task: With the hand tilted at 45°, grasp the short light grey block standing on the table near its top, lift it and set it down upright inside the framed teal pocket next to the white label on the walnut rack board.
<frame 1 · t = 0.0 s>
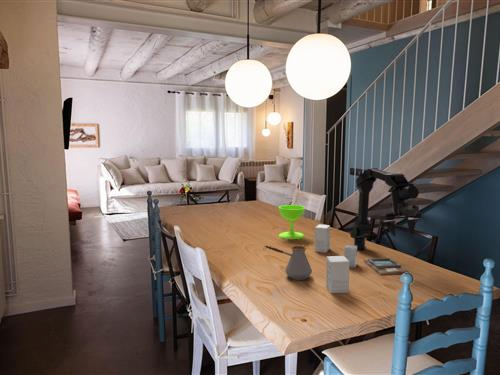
hand: (403, 235, 174), 15 cm above the table, tool pointing down, fingers open, 9 cm apart
wineglass: (291, 236, 236), on the table
small box: (322, 250, 206), on the table
supplement box: (337, 290, 152), on the table
coffee pot: (287, 278, 165), on the table
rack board: (383, 266, 179), on the table
light grey block: (350, 265, 181), on the table
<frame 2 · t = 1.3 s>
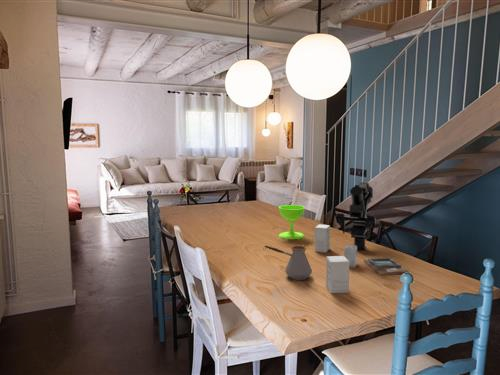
hand: (353, 234, 185), 13 cm above the table, tool tilted 45°, fingers open, 9 cm apart
nothing on the table moved.
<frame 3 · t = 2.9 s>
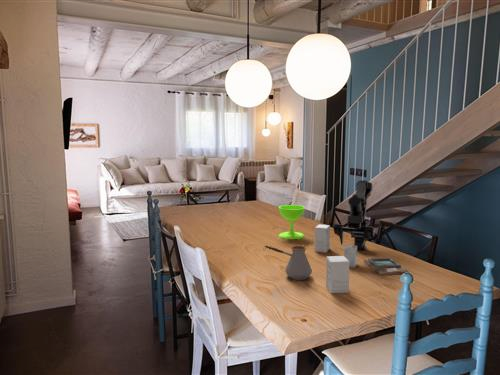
hand: (351, 245, 181), 9 cm above the table, tool tilted 45°, fingers open, 9 cm apart
nothing on the table moved.
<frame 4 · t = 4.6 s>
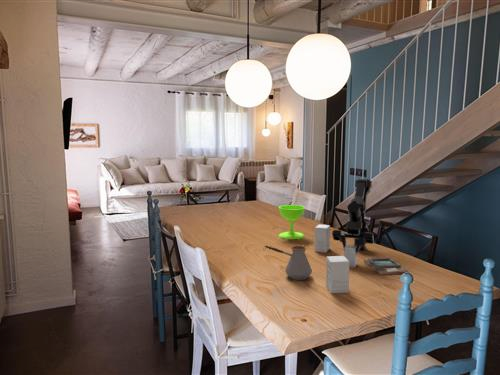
hand: (350, 252, 179), 7 cm above the table, tool tilted 45°, fingers closed on light grey block, 5 cm apart
light grey block: (350, 265, 181), on the table, touching gripper
everything else where it was.
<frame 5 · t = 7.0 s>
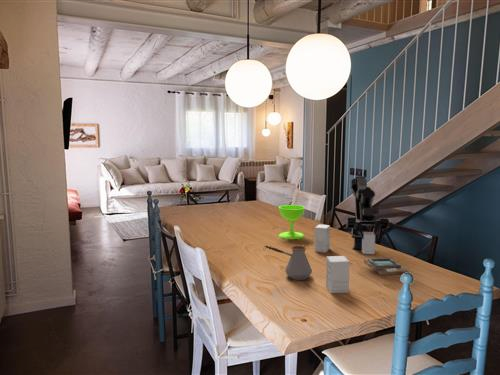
hand: (368, 238, 177), 13 cm above the table, tool tilted 45°, fingers closed on light grey block, 5 cm apart
light grey block: (368, 252, 178), point 7 cm above the table, touching gripper
everything else where it was.
when the fingers open (8 cm above the table, at t = 9.6 s): light grey block stays where it is, resting on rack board.
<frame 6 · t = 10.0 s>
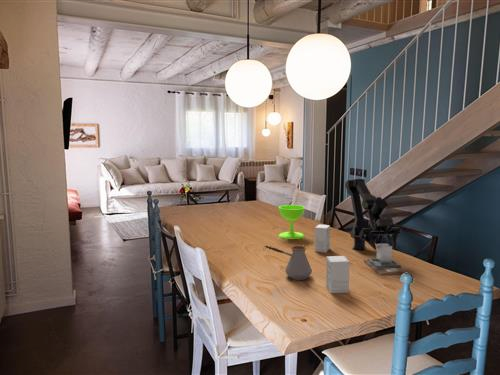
hand: (385, 249, 177), 9 cm above the table, tool tilted 45°, fingers open, 9 cm apart
light grey block: (383, 263, 179), point 1 cm above the table, touching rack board
everything else where it was.
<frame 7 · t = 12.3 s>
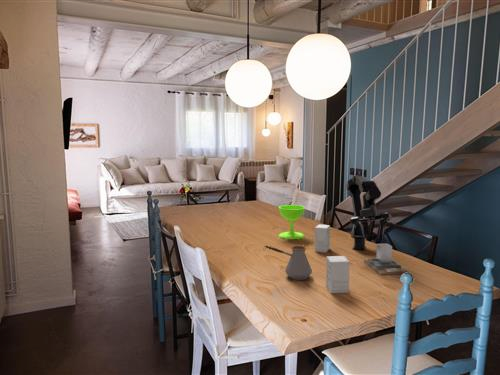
hand: (372, 236, 185), 12 cm above the table, tool tilted 25°, fingers open, 9 cm apart
nothing on the table moved.
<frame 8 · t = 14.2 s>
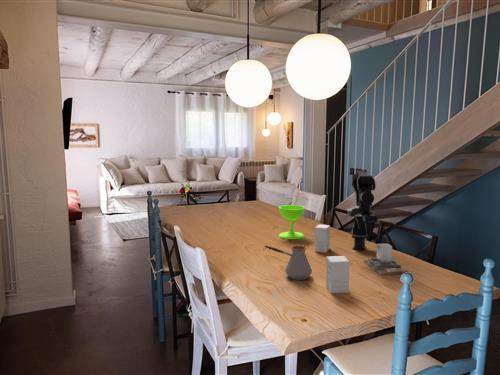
hand: (363, 232, 191), 13 cm above the table, tool pointing down, fingers open, 9 cm apart
nothing on the table moved.
at the end: light grey block 0.0 cm off-centre on the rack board, point 1.2 cm above the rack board's base; light grey block tilted 0°; the gripper is holding nothing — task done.
